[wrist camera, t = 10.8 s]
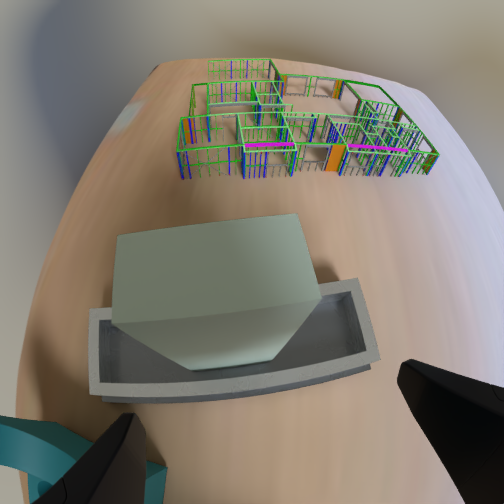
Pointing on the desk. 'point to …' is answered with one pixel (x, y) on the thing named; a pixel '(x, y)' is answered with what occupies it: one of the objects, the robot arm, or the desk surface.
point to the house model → (337, 149)
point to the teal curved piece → (56, 455)
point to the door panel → (215, 290)
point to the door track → (242, 377)
